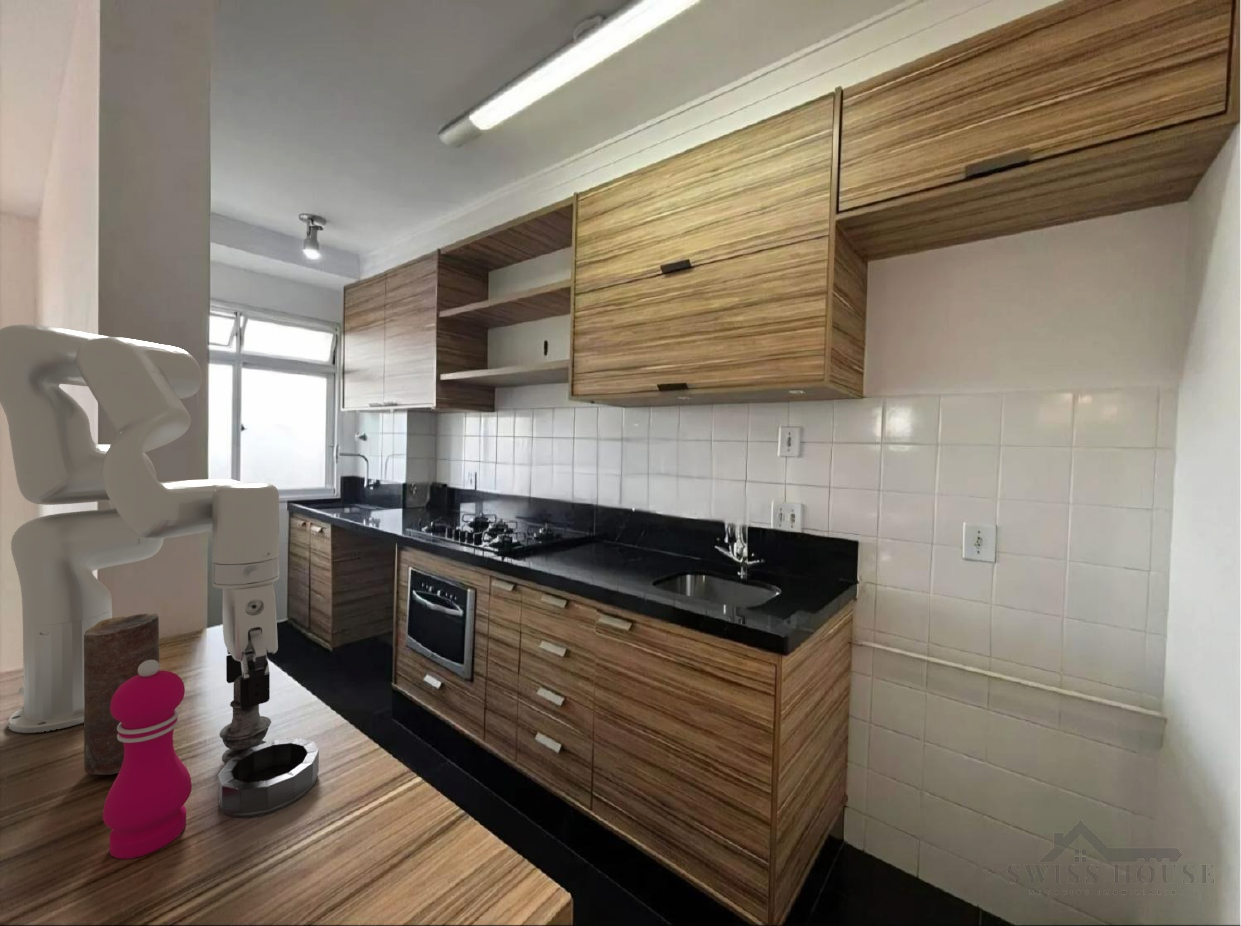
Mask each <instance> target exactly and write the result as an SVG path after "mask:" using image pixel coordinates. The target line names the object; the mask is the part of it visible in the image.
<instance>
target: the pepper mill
mask: <svg viewBox="0 0 1241 926" xmlns="http://www.w3.org/2000/svg"><path fill="white" fill-rule="evenodd" d="M158 670H159V671H158ZM138 674H139V675H137V676H135V677H133V678H131V679H129V680H127V681H126V682H124V683H123V684H122V685H121V686H120V687H119V688H118V689H117V690H116V692H115V693H114V695H113V697H112V700H111V706H110V710H111V714H112V716H113V717H114V718H115V719H116V720H118V721H120V722H121V723H119V725H118V726H117V731H118V735H117V739H118V740H119V741H121V742H123V745H124V760H123V763H122V766H121V769H120V771H119V772H118V773H117V776H116V778H115V780H114V782H113V783H112V786H111V787H110V789H109V791H108V792H107V793H108V794H107V796H106V798H105V802H104V805H103V810H102V820H103V821H102V822H103V823H104V825H105V826H107V827H108V828H109V829H110V830H111V832H110V834H109V845H108V846H109V853H110V855H111V856H112V857H114V858H115V859H116V858H117V859H120V860H123V859H125V860H126V859H128V860H129V859H134V858H139V857H143V856H145V855H149V854H151V853H154V852H155V851H158V850H160V849H162V848H164V847H165V846H167V845H169V844H170V843H172V841H174V840H175V839H176V838H178V837H179V835H181V833H182V832H183V831H184V830H185V828H186V825H187V808H186V806H185V803H186V802H187V801H188V800H189V797H190V795H191V793H192V787H193V786H192V779H191V775H190V772H189V770H188V768H187V767H186V765H185V764H184V763H183V762H182V760H181V759H180V757H179V756H178V755H177V753H176V750H175V747H174V739H173V738H174V731H175V730H174V729H175V728H176V727H177V726H178V725H179V724H180V723H179V722H180V719H179V715H180V711H179V710H178V709H177V708H178V706H180V704H181V703H182V701H183V700H184V697H185V692H186V689H185V683H184V681H183V679H182V678H181V677H180V676H179V675H178V674H176V673H175V672H172V671H170V670H169V671H168V670H160V662H159V663H158V662H157V661H156V660H147V661H144V662H143V663H142V664H140V666H139V667H138Z"/></svg>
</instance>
